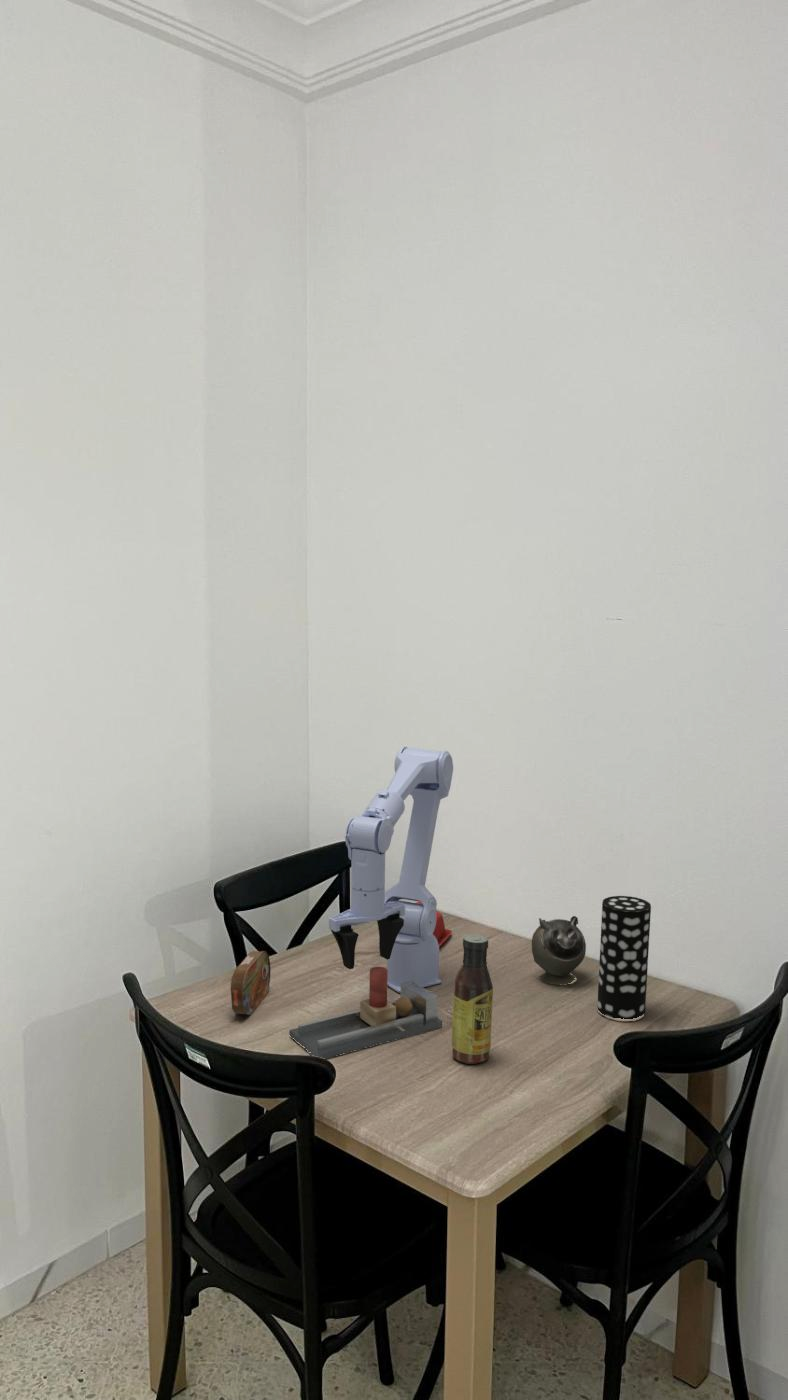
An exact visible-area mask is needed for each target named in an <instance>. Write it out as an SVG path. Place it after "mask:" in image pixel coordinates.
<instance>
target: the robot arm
mask: <svg viewBox="0 0 788 1400" xmlns="http://www.w3.org/2000/svg"><path fill="white" fill-rule="evenodd" d="M453 774H454V761H453V757H452V754H451V753H450V752H449V751H448V750H443V751H442V750H441V751H440V750H434V749H433V750H431V749H421V748H411V747H408V746H402V747H400V749H399V750H398V751H397V752H396V756H395V759H394V775H393V777H392V779H391V780H390V782H389V784H388V786H387V787H386V789H382V790H380V791H378V792H377V793H376V794H375V795H374V797H372V799H371V800H370V802H369V803H368V805H367V807H366V808H365V809H364V811H363V812H362V814H361V815H356V816H355V817H352V818H351V819H349V821H348V823H347V826H346V829H345V830H346V831H345V835H344V838H345V839H344V840H345V846H346V847H347V853H348V855H347V856H348V859H349V860H350V861H351V862H350V863H351V871H350V873H351V876H350V877H351V878H350V881H351V882H350V908H349V909H346V910H345V911H343V912H340V913H338V914H336V915H333V916H330V917H328V929H329V930H330V932H331V933H332V935H333V937H334V939H335V941H336V943H337V946H338V948H339V952H340V955H341V959H342V963H343V967H345V968H346V969H349V970H353V969H354V967H355V962H356V960H355V958H356V957H355V955H356V954H355V953H356V946H357V941H358V938H359V936H360V935H359V933H357V932H355V931H354V928H352V927H353V926H358V925H362V924H366V923H370V922H371V923H372V922H377V927H378V935H379V945H378V947H379V956H380V957H382V958H383V959H385V960H386V969H387V970H388V978H387V987H390V988H391V989H392V990H393V991H394V992H395V991H396V992H397V993H398V994H401V983H403V982H408V981H414V982H415V983H417V984H419V985H420V986H422V987H423V988H425V987H426V988H427V987H431V986H434V985H439V984H441V983H442V980H441V979H440V976H439V975H440V947H439V945H438V941H437V939H436V937H435V936H434V935H433V932H434V929H435V925H436V911H437V905H438V903H437V899H436V897H435V896H434V895H433V894H432V893H431V891H430V890H429V889H428V888H427V887H426V883H427V882H426V881H427V876H428V869H429V864H430V858H431V852H432V847H433V841H434V836H435V829H436V823H437V819H438V814H439V808H440V804H441V800H442V799H444V798H445V799H446V798H447V797H448V796H449V792H450V790H451V785H452V780H453ZM409 795H410V796H411V797H412V801H413V804H412V809H411V815H410V819H409V820H410V821H409V824H408V825H409V827H408V830H407V836H406V841H405V847H404V853H403V859H402V864H401V869H400V875H399V880H398V882H397V883H396V884H394V885H393V886H390V887H389V888H388V889H386V883H385V882H386V852H387V851H388V850H389V848H390V845H391V842H392V837H393V835H394V832H395V829H394V828H395V826H396V825H397V822H398V821H399V819H400V818H401V817H402V816H403V814H404V812H405V807H406V806H405V800H406V799H407V797H408V796H409ZM408 798H409V797H408ZM405 900H408V901H405ZM410 901H414V902H410ZM416 902H422V903H423V904H417V903H416Z"/></svg>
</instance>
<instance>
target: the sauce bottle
mask: <svg viewBox="0 0 788 1400" xmlns="http://www.w3.org/2000/svg"><path fill="white" fill-rule="evenodd" d="M462 947H463V958H462V965H461V967H460V969H459V970H458V972H457V974H456V975H455V978H454V992H453V1006H452V1007H453V1009H452V1010H453V1011H452V1030H451V1047H452V1057H453V1058H454V1059H455V1060H456V1061H458V1062H460V1063H464V1064H467V1065H470V1064H471V1065H473V1064H481V1063H483V1062H486V1061H487V1060H488V1058H489V1055H490V1050H491V1042H492V1041H491V1039H492V1023H493V1021H492V1019H493V1001H494V1000H493V998H494V997H493V996H494V986H493V981H492V978H491V975H490V973H489V968H488V965H487V964H488V961H487V956H488V955H487V952H488V948H489V938H488V937H486V936H485V935H482V934H475V933H474V934H472V933H471V934H466V935H465V936H463V938H462Z"/></svg>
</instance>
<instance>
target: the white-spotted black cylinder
mask: <svg viewBox="0 0 788 1400" xmlns="http://www.w3.org/2000/svg"><path fill="white" fill-rule="evenodd" d="M601 904H602V905H601V925H600V926H601V927H600V945H599V962H598V963H599V967H598V982H597V983H598V989H597V1002H596V1003H597V1006H596V1007H597V1008H598V1010H599V1011H600V1012H601V1013H602V1014H604V1015H606V1016H609V1017H613V1018H621V1019H623V1018H624V1019H633V1018H637V1017H639V1016H642V1015H643V1014H644V1013H645V1014H646V1005H647V1004H646V1003H647V1002H646V1001H647V1000H646V999H647V986H648V985H647V984H648V965H649V964H648V963H649V947H650V934H651V933H650V930H651V914H652V913H651V911H652V905H651V902H649V901H647V900H645V899H642V898H639V897H637V896H636V897H635V896H628V895H614V896H607V897H605V898H603V900H602V903H601Z"/></svg>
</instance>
